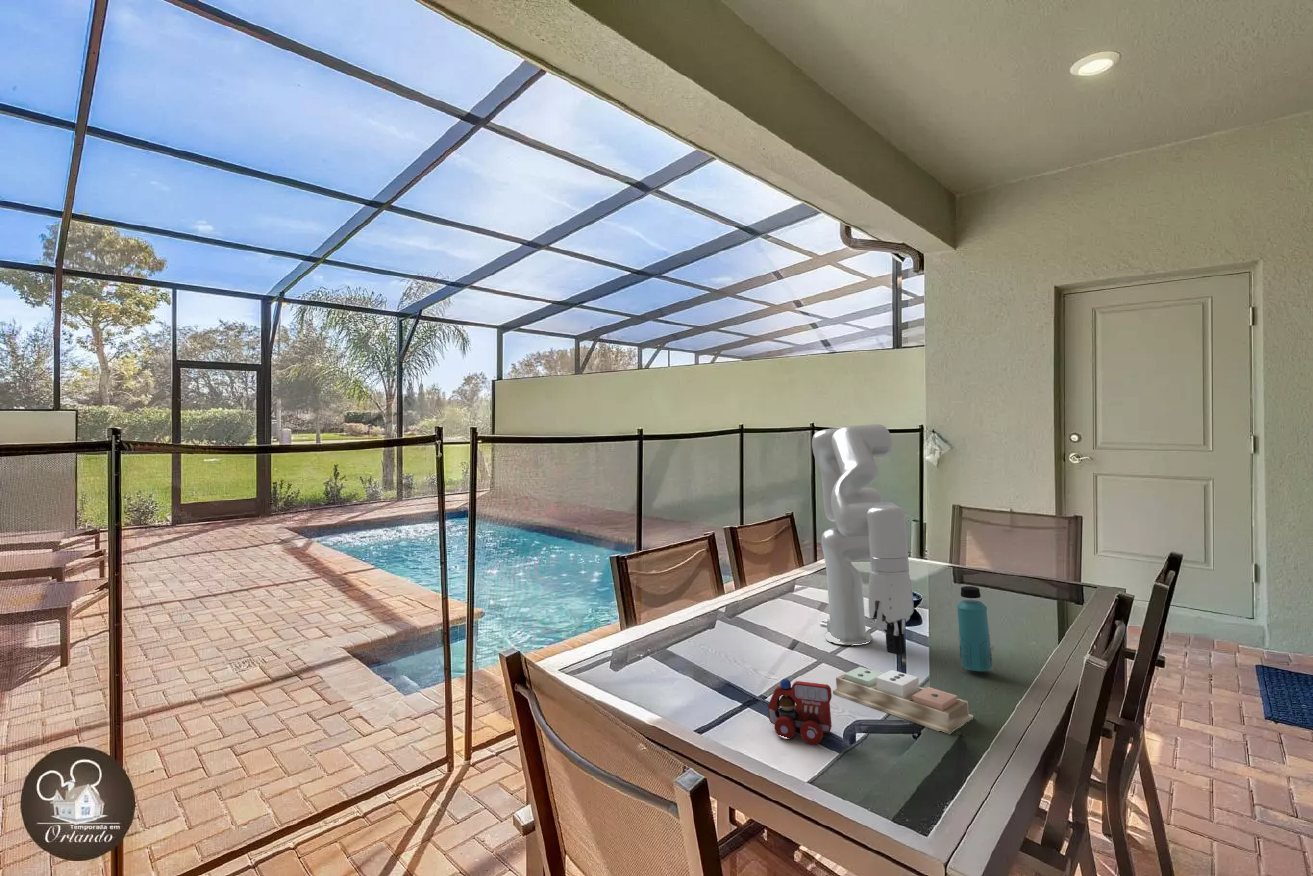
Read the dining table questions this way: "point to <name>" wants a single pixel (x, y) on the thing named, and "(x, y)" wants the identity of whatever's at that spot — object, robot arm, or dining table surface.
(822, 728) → the toy fire truck
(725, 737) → the dining table surface
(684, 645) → the dining table surface
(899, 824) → the dining table surface
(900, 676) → the three dot tile
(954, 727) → the tile board
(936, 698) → the one dot tile
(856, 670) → the two dot tile
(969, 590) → the beverage bottle
